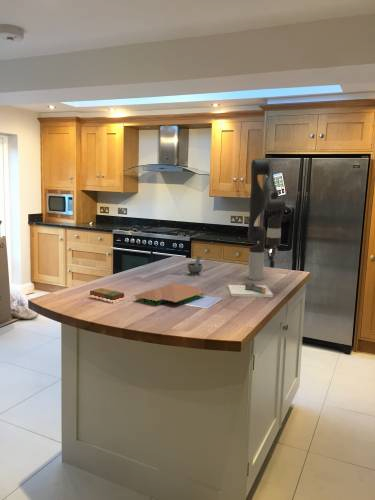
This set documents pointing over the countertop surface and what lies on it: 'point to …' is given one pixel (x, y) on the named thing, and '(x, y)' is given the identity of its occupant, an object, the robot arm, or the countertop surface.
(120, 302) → the countertop surface
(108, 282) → the countertop surface
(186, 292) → the wooden board
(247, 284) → the metal serving spoon
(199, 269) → the mortar and pestle
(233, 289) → the dial plate
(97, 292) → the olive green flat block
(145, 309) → the countertop surface
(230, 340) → the countertop surface
